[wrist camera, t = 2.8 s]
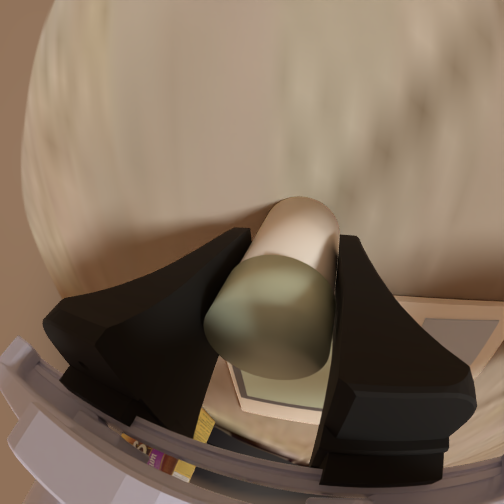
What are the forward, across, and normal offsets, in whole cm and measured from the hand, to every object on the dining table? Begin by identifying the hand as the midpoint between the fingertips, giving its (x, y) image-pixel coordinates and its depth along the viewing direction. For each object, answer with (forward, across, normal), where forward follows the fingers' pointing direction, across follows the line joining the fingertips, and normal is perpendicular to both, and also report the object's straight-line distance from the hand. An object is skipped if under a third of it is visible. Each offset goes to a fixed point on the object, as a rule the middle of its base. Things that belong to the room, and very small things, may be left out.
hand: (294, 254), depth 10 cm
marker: (+2, 0, 0) cm, 2 cm away
